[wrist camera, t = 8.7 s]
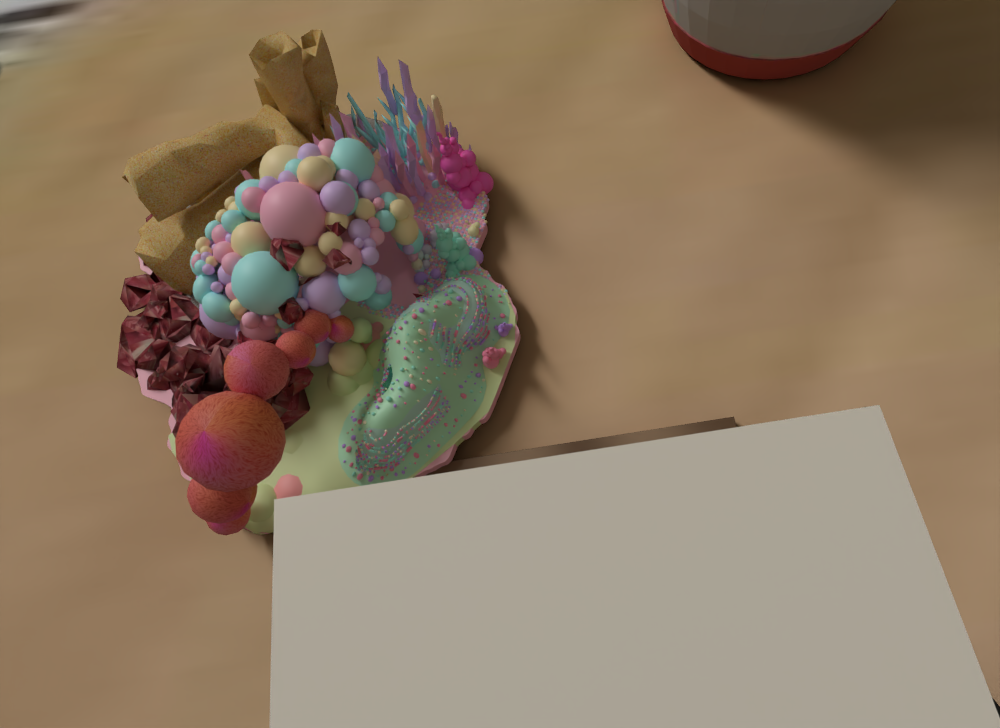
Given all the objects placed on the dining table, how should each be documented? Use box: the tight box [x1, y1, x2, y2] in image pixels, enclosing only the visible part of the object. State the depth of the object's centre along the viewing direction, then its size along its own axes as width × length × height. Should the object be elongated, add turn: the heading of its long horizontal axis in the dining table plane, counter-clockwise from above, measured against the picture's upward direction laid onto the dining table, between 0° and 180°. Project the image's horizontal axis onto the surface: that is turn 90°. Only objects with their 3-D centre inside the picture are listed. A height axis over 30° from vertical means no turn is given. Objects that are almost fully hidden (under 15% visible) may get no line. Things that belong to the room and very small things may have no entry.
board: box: [425, 417, 737, 476], centre depth 25 cm, size 16×16×1 cm
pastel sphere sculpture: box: [117, 30, 521, 535], centre depth 29 cm, size 25×24×9 cm
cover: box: [270, 405, 1000, 728], centre depth 9 cm, size 6×6×10 cm
